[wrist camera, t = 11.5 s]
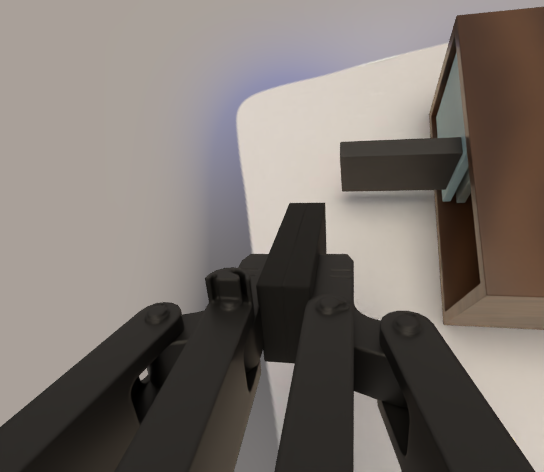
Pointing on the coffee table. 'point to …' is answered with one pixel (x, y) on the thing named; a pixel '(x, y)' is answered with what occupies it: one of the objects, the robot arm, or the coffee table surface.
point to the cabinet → (495, 174)
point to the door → (413, 154)
